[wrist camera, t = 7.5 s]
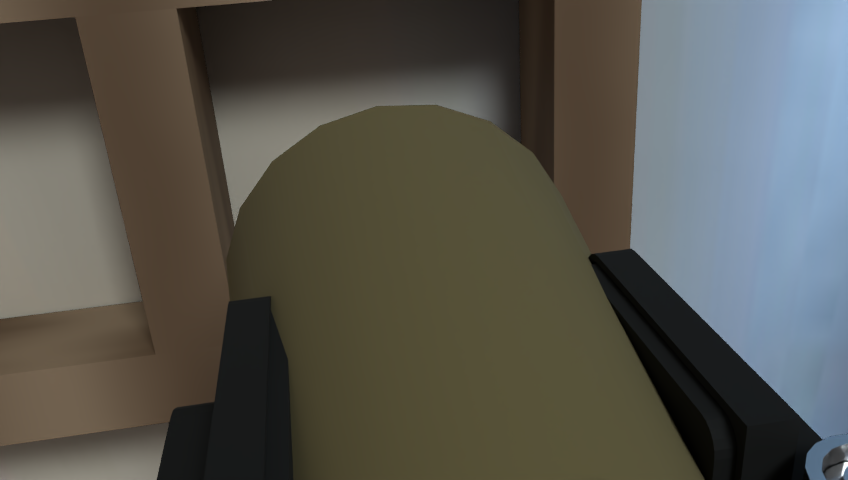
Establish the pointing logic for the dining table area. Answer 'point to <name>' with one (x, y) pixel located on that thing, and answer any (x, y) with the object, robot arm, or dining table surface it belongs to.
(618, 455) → the olive tall rounded piece
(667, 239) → the dining table surface
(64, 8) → the caddy
